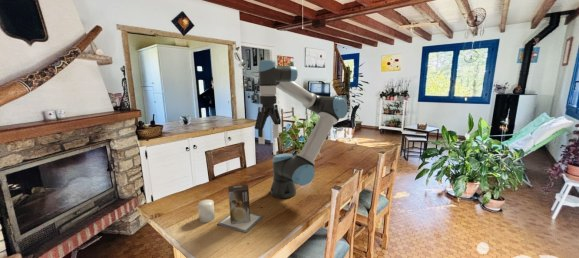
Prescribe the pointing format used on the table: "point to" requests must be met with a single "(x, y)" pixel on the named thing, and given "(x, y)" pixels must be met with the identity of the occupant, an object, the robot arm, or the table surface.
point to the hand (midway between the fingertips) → (269, 140)
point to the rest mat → (241, 226)
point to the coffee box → (239, 204)
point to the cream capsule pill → (206, 211)
